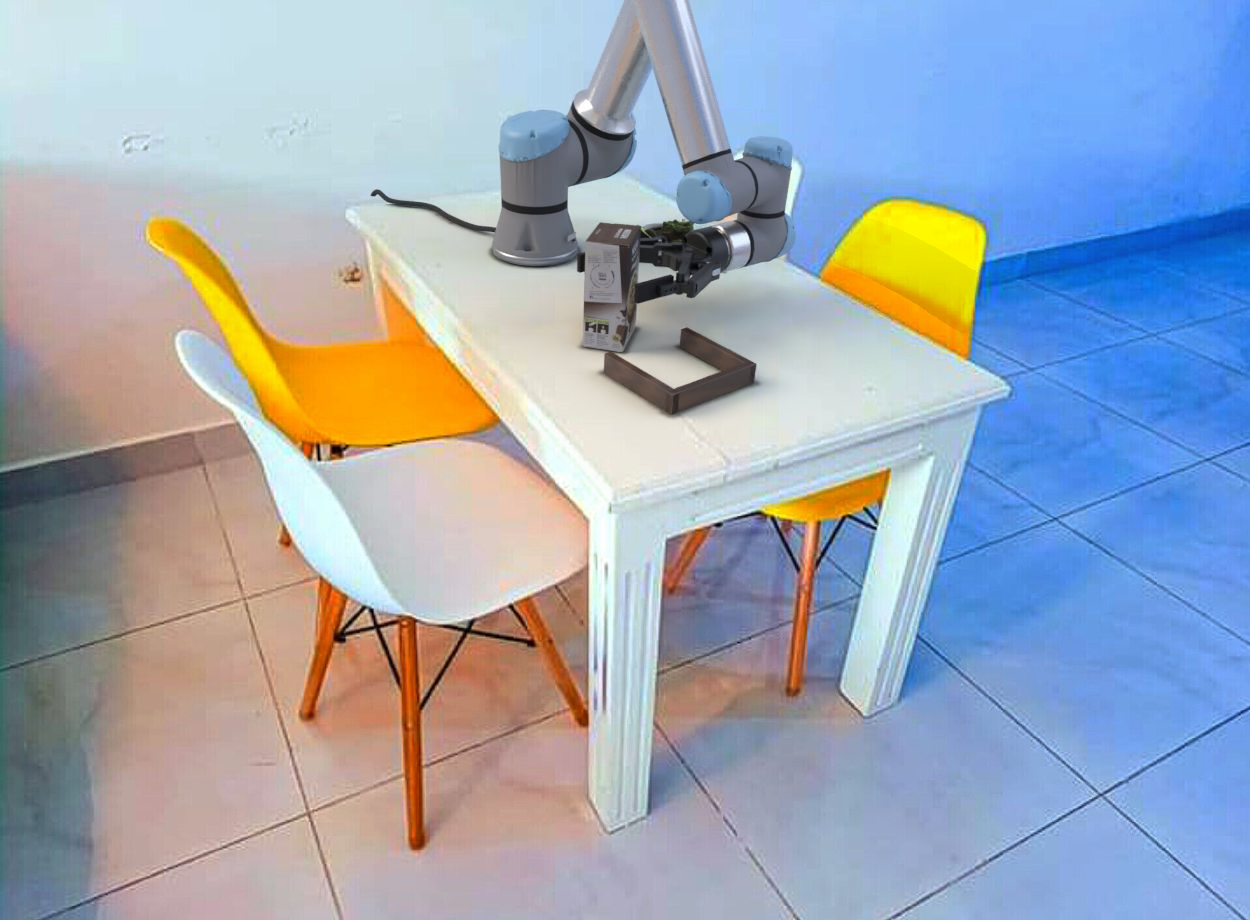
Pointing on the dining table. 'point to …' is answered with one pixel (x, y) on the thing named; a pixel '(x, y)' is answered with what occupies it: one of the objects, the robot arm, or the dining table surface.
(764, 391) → the dining table surface
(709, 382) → the walnut holder
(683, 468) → the dining table surface
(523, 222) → the robot arm
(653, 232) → the salad plate
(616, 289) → the coffee box
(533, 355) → the dining table surface
